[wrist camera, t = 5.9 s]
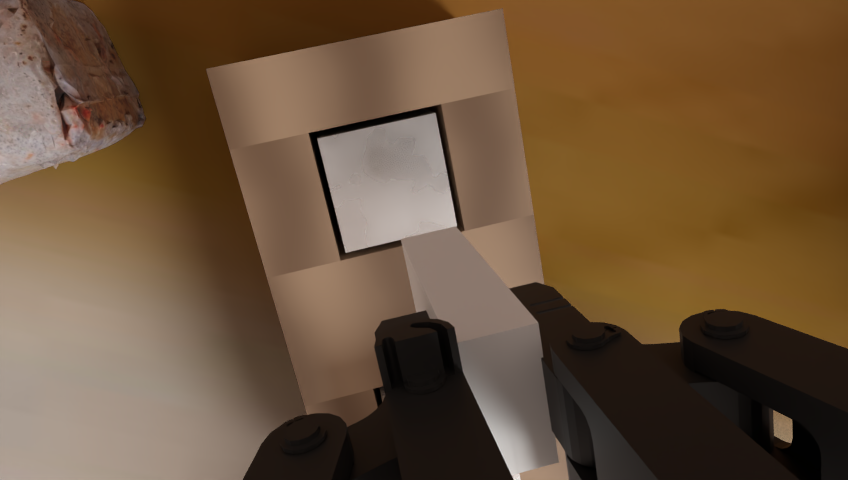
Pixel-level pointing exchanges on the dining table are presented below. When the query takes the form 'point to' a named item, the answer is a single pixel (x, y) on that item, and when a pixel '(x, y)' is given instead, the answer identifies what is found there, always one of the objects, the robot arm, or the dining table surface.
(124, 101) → the food item
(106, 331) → the dining table surface
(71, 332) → the dining table surface
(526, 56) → the dining table surface
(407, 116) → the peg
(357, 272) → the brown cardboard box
